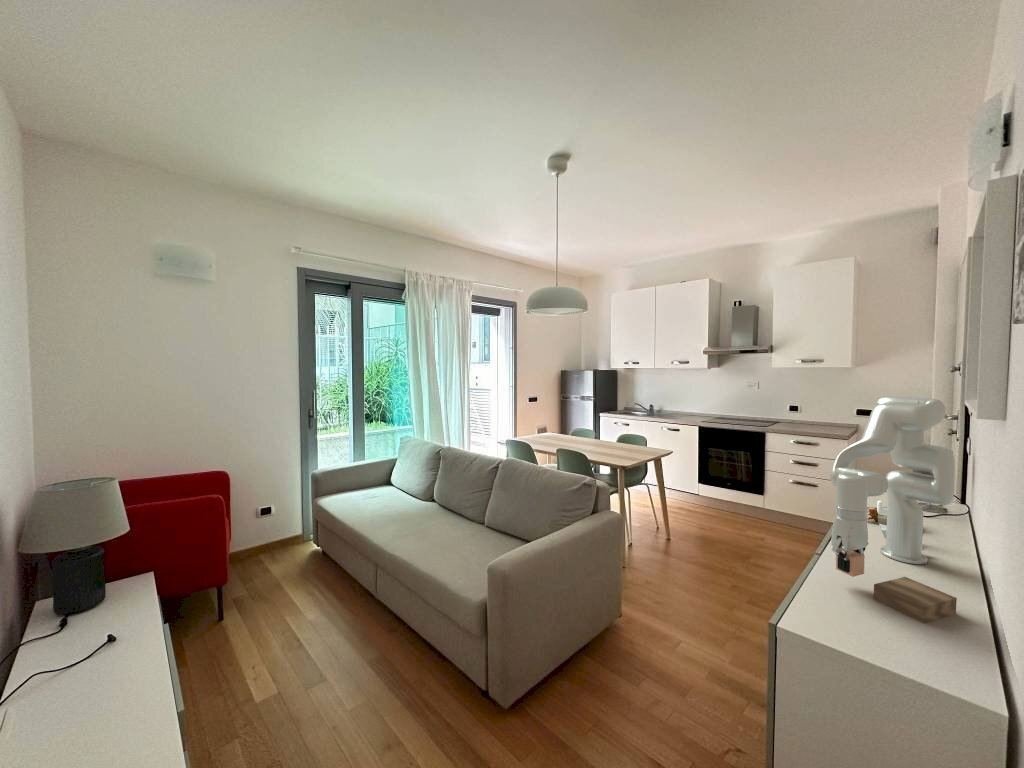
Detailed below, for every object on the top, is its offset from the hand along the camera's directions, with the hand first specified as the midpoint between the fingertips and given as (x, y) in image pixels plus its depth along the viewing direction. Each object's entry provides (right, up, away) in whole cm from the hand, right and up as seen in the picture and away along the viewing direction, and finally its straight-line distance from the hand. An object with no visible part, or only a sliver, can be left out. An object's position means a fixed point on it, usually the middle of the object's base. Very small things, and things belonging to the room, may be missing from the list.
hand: (849, 568), depth 129 cm
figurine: (+47, -4, +36) cm, 59 cm away
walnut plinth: (+10, -7, -10) cm, 16 cm away
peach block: (0, -1, 0) cm, 1 cm away
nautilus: (+57, -3, +51) cm, 77 cm away
